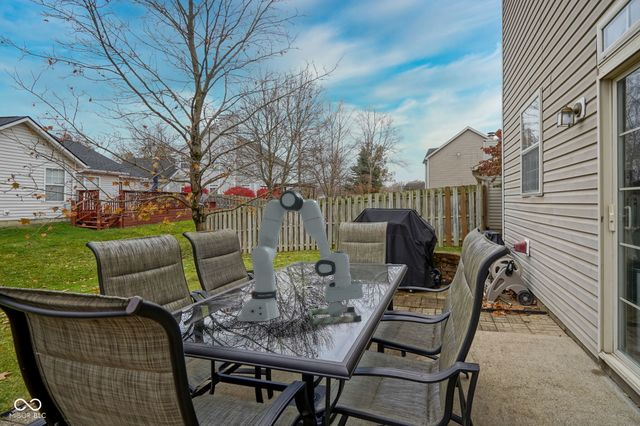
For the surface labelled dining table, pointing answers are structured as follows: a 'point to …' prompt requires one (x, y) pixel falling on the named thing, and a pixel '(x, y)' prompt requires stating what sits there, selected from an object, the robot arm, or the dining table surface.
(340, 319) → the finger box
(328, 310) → the die
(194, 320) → the dining table surface
